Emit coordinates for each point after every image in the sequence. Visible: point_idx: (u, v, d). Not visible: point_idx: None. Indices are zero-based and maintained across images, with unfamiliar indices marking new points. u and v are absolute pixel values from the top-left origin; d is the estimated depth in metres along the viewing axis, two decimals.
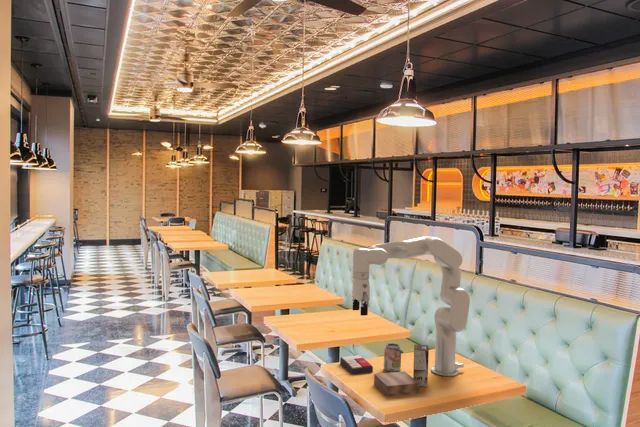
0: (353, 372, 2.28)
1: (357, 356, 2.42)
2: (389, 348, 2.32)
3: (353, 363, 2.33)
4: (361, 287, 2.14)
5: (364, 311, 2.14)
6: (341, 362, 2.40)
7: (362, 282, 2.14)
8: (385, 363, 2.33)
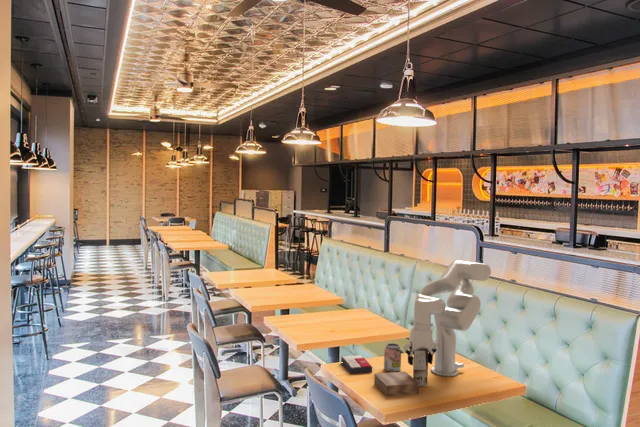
0: (352, 372, 2.28)
1: (358, 356, 2.43)
2: (389, 348, 2.32)
3: (353, 363, 2.33)
4: None
5: None
6: (342, 361, 2.41)
7: None
8: (385, 363, 2.33)
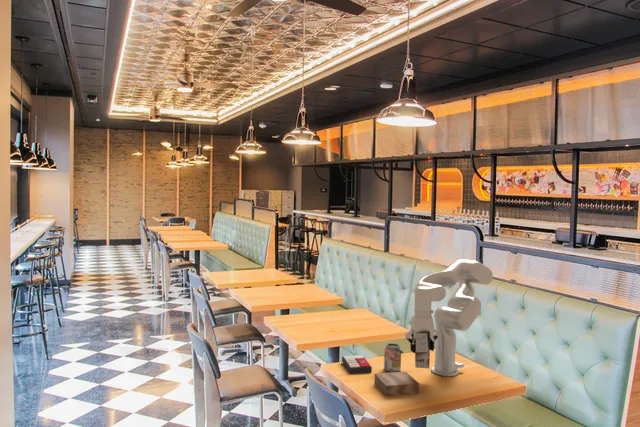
0: (351, 371, 2.29)
1: (359, 356, 2.43)
2: (389, 348, 2.32)
3: (352, 362, 2.34)
4: None
5: None
6: (342, 361, 2.41)
7: None
8: (385, 363, 2.33)
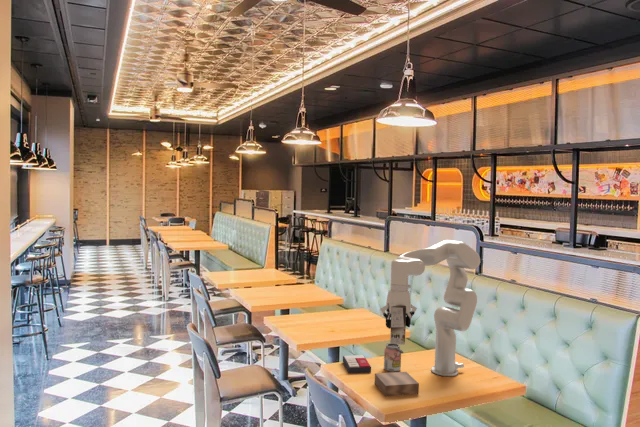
0: (350, 371, 2.29)
1: (360, 356, 2.43)
2: (389, 348, 2.32)
3: (352, 362, 2.34)
4: None
5: None
6: (343, 361, 2.42)
7: None
8: (385, 363, 2.33)
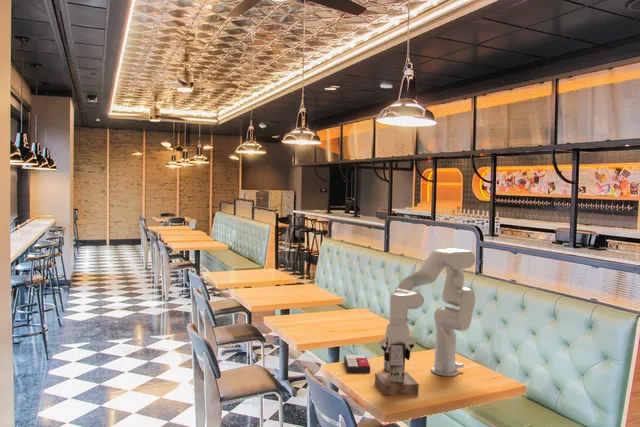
0: (348, 370, 2.30)
1: (361, 356, 2.43)
2: None
3: (352, 362, 2.35)
4: None
5: None
6: (344, 360, 2.43)
7: None
8: (385, 363, 2.33)
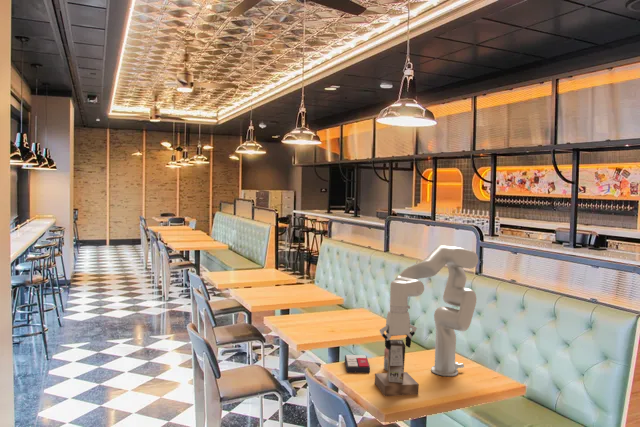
0: (348, 370, 2.30)
1: (362, 356, 2.43)
2: None
3: (352, 362, 2.35)
4: (409, 319, 2.11)
5: None
6: None
7: (408, 314, 2.11)
8: (385, 363, 2.33)
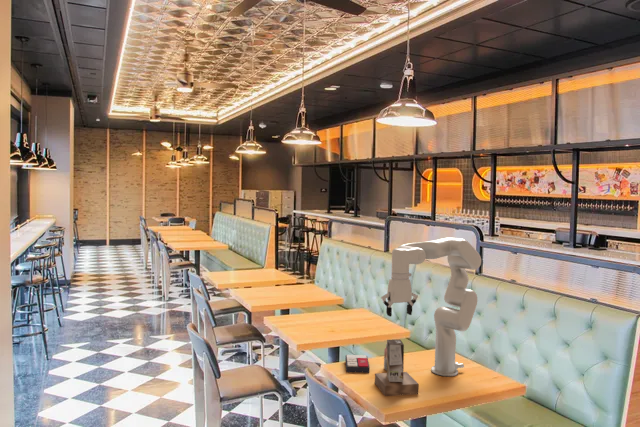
0: (348, 370, 2.30)
1: (362, 356, 2.43)
2: None
3: (351, 361, 2.35)
4: None
5: None
6: (345, 360, 2.43)
7: None
8: (385, 363, 2.33)
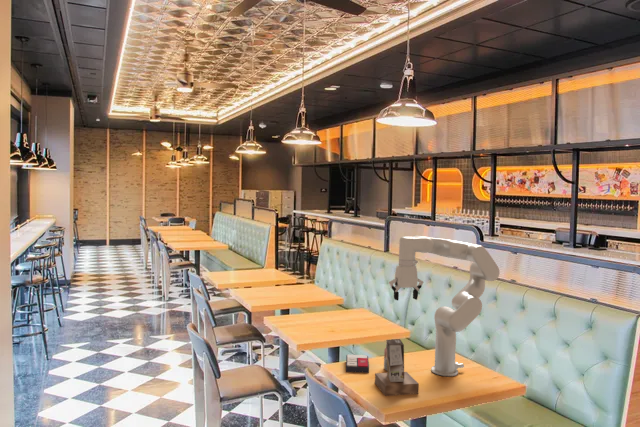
0: (347, 370, 2.31)
1: (363, 356, 2.43)
2: None
3: (351, 361, 2.35)
4: None
5: None
6: None
7: None
8: (385, 363, 2.33)
